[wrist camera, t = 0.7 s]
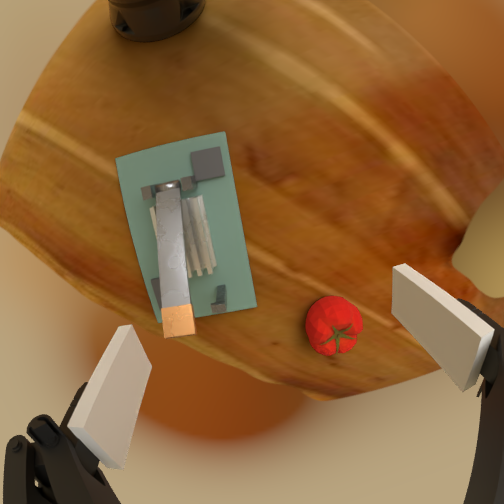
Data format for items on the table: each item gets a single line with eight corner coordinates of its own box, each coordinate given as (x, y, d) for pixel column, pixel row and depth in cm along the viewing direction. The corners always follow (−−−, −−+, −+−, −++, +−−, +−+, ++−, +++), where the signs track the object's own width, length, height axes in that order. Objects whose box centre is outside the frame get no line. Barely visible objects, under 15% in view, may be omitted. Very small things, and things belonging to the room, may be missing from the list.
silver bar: (150, 185, 37) (136, 188, 31) (202, 173, 37) (197, 174, 31) (178, 300, 42) (171, 320, 36) (226, 291, 42) (226, 311, 36)
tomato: (323, 280, 44) (340, 301, 37) (359, 305, 46) (378, 327, 39) (288, 325, 46) (298, 350, 39) (326, 345, 48) (339, 371, 41)
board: (118, 158, 36) (113, 158, 34) (225, 132, 37) (224, 130, 35) (159, 319, 44) (157, 325, 42) (256, 303, 44) (257, 309, 42)
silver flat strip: (157, 189, 34) (154, 182, 32) (181, 183, 34) (179, 176, 32) (167, 338, 27) (163, 337, 26) (198, 334, 27) (194, 333, 26)
